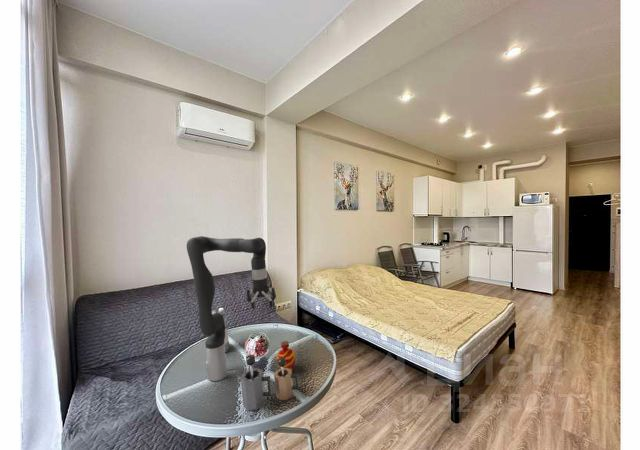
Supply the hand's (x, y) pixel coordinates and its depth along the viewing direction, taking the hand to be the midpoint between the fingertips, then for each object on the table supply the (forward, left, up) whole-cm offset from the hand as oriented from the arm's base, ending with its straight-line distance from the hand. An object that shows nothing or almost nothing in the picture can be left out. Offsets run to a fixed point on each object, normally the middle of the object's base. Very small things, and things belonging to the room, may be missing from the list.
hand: (262, 308), depth 131 cm
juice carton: (-36, +30, -36) cm, 59 cm away
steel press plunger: (-3, -18, -34) cm, 38 cm away
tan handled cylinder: (+11, -14, -36) cm, 40 cm away
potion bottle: (+9, +4, -36) cm, 38 cm away
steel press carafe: (-1, -18, -36) cm, 40 cm away
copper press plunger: (+10, -14, -35) cm, 39 cm away
